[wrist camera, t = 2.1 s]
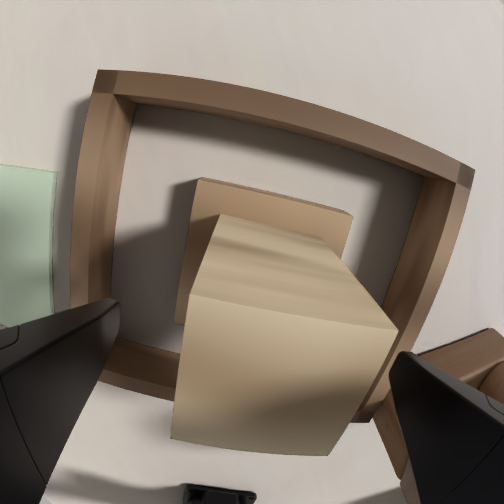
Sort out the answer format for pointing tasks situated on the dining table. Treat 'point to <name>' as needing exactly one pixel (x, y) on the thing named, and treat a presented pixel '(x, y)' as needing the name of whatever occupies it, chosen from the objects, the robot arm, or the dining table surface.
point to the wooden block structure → (463, 368)
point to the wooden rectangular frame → (252, 210)
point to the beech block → (275, 344)
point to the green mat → (26, 244)
